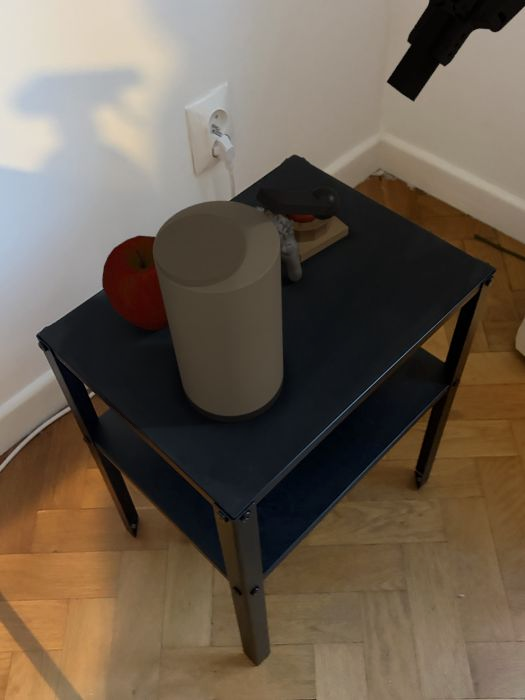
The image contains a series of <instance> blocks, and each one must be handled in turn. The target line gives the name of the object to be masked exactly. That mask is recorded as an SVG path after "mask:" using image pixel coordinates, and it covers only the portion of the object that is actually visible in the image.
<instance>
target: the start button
mask: <svg viewBox="0 0 525 700" xmlns="http://www.w3.org/2000/svg"><path fill="white" fill-rule="evenodd" d="M305 190H306V191H308V189H305ZM287 216H288V217H289V219H291V220H293V221H294V222H297V223H308V222H311V221H313V220H314V219H316V218H315V217H313V216H312V215H289V214H287Z"/></svg>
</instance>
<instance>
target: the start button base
mask: <svg viewBox="0 0 525 700" xmlns="http://www.w3.org/2000/svg"><path fill="white" fill-rule="evenodd" d="M264 214H265V215H266V216H267V217H269V215H271V216H272V217H273V216H278V215H279V214H273V213H272V212H270V211H269V210H268V209H267V210H266V211H264ZM280 215H281V216H283V217H284V218H285V219H288V220H291V219H289V217H288V216H287V214H280ZM292 227H293V231H294V237H295V240H296V241H297V243H298V245H299V256H300V264H301V263H303V262H304V261H306V260H308V259H309V258H311V257H313V256H314V255H316V254H318V253H319V252H321V251H323V250H324V249H326V248H328V247H330V246H331V245H333V244H335V243H337V242H338V241H340V240H342V239H343V238H344V237H346V236H348V235H349V226H348V225H346V223H344V222H343V221H341V219H339V218H338V217H337V216H336V215H334V216H333V217H331V218H329V219H326V220H320V219H317V218H316V219H314V220H313V221H311V222H308V223H297V222H294V221H293V223H292Z"/></svg>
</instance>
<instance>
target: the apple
mask: <svg viewBox="0 0 525 700" xmlns="http://www.w3.org/2000/svg"><path fill="white" fill-rule="evenodd" d="M155 237H156V236H152V235H136V236H134V237H130V238H127V239H125V240H124V241H122V242H121V243H120V244H118V245H116V246H115V247H113V249H112V250H111V252H110V253H109V254H108V255H107V258H106V260H105V262H104V264H103V271H102V277H101V283H102V284H101V285H102V289H103V292H104V293H105V295H106V297H107V299H108V302H109V305H110V306H111V307H112V309H113V310H114V311H115V312H117V314H119V315H120V316H121V317H122V318H123V319H125V320H126V321H127V322H128V323H130V324H131V325H133V326H135V327H138V328H142V329H144V330H148V331H160V330H162V329H165V328H166V327H167V326H169V323H168V319H167V315H166V310H165V306H164V301H163V297H162V293H161V288H160V284H159V279H158V275H157V271H156V266H155V262H154V257H153V244H154V240H155Z"/></svg>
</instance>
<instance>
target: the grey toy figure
mask: <svg viewBox="0 0 525 700" xmlns="http://www.w3.org/2000/svg"><path fill="white" fill-rule="evenodd" d="M253 208H256V209H257V210H259V211H261V212H262V213H264V212H265V208H264V206H263V207H262V206H259V205H258V206H254V207H253ZM268 218H269V219H270V220H271V221H272V222H273V224H274V225H275V227H276V229H277V231H278V234H279V237H280V256H281V262H283V264H284V265H285V266H286V271H287V277H288V278H289V279H290V280H291V281H292V282H298V281H300V279H301V278H302V274H303V270H302V265H301V263H300V256H299V245H298V243H297V241H296V240H295V237H294V231H293V227H292V223H293V220H288V219H285V218H284V217H283V216H281V215H280V214H279V215H278V216H273V217H272V216H271V215H269V217H268Z"/></svg>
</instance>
